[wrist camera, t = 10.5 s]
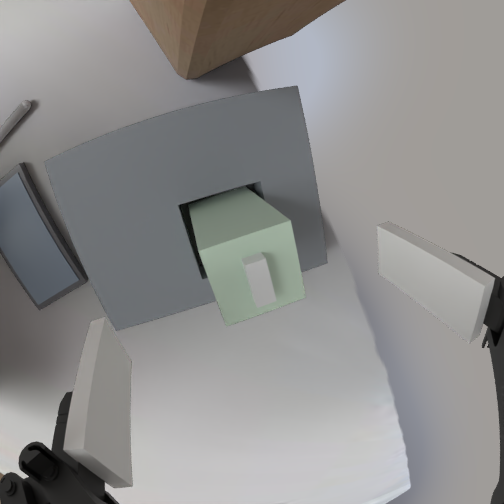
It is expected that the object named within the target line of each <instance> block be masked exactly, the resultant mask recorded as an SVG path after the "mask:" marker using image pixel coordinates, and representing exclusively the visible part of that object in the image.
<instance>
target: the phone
mask: <svg viewBox="0 0 504 504" xmlns="http://www.w3.org/2000/svg"><path fill="white" fill-rule="evenodd" d="M0 253H1V255H2V256H3V258H4V260H5V261H6V263H7V264H8V266H9V268H10V269H11V271H12V272H13V274H14V275H15V277H16V278H17V280H18V281H19V283H20V284H21V286H22V287H23V289H24V290H25V292H26V293H27V294H28V296H29V297H30V299H31V300H32V301H33V303H34V304H35V306H36V307H37V308H38V310H41V309H43V308H44V307H46V306H48V305H49V304H51V303H52V302H54V301H56V300H57V299H59V298H61V297H62V296H64V295H66V294H67V293H69V292H71V291H72V290H74V289H76V288H78V287H79V286H81V285H83V284H84V283H86V282H87V280H88V276H87V275H86V273H85V272H84V270H83V269H82V267H81V266H80V264H79V263H78V261H77V260H76V258H75V256H74V255H73V253H72V252H71V250H70V249H69V247H68V245H67V244H66V242H65V240H64V239H63V237H62V235H61V234H60V232H59V230H58V229H57V227H56V225H55V223H54V222H53V220H52V218H51V216H50V214H49V213H48V211H47V209H46V207H45V205H44V203H43V201H42V200H41V198H40V196H39V194H38V192H37V190H36V188H35V186H34V184H33V182H32V180H31V178H30V176H29V174H28V171H27V169H26V167H25V165H24V163H20V164H18V165H17V166H16V167H15V168H13V169H12V170H11V171H10V172H9V173H8V174H7V175H5V176H4V177H3V178H2V179H1V180H0Z"/></svg>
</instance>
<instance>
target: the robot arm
mask: <svg viewBox="0 0 504 504" xmlns="http://www.w3.org/2000/svg"><path fill="white" fill-rule="evenodd" d="M377 237H378V274H379V275H381V276H382V277H383V278H385V279H386V280H387V281H389V282H390V283H392V284H393V285H394V286H396V287H397V288H398V289H400V290H401V291H402V292H404V293H405V294H406V295H408V296H409V297H410V298H412V299H413V300H414V301H416V302H417V303H418V304H419V305H421V306H422V307H423V308H425V309H426V310H427V311H429V312H430V313H431V314H432V315H434V316H435V317H436V318H437V319H439V320H440V321H441V322H442V323H444V324H445V325H446V326H448V327H449V328H450V329H451V330H453V331H454V332H455V333H456V334H457V335H459V336H460V337H461V338H462V339H463V340H465V341H466V342H467V343H471V342H472V341H473V340H474V339H476V338H477V337H478V336H479V335H480V333H481V329H482V326H483V323H484V324H485V325H486V326H488V328H487V331H486V334H485V337H484V340H483V343H482V348H484V346H485V344H486V341H488V343H489V344H488V346H487V347H488V348H490V353H491V358H492V364H493V370H494V377H495V384H496V392H497V400H498V411H499V424H500V477H499V482H498V484H497V487H496V489H495V490H494V492H493V495H492V499H491V504H504V277H502V278H500V277H498V276H497V275H495V274H493V273H491V272H490V271H488V270H486V269H484V268H483V267H481V266H479V265H476V263H474V262H472V261H469V260H468V259H466V258H465V257H463V256H461V255H458V254H454V253H450V252H448V251H446V250H444V249H442V248H441V247H439V246H437V245H435V244H433V243H431V242H429V241H427V240H425V239H423V238H421V237H419V236H417V235H415V234H413V233H411V232H409V231H407V230H405V229H403V228H401V227H399V226H397V225H395V224H393V223H390V222H389V221H388V222H385V223H383V224H380V225H377ZM131 369H132V361H131V360H130V358H129V356H128V355H127V353H126V352H125V350H124V348H123V347H122V345H121V343H120V342H119V340H118V338H117V337H116V335H115V333H114V332H113V330H112V328H111V326H110V325H109V323H108V321H107V319H106V317H103V318H100V319H97V320H93V321H91V322H90V326H89V329H88V332H87V336H86V340H85V343H84V347H83V351H82V355H81V359H80V363H79V367H78V371H77V375H76V380H75V384H74V389H73V392H68V393H66V394H65V396H64V398H63V399H62V401H61V403H60V406H59V411H58V416H57V421H56V424H57V425H56V426H55V432H54V438H53V444H52V450H50V449H48V448H47V447H46V446H45V445H44V444H43V443H40V442H32V443H30V444H28V445H27V446H26V447H25V448H24V449H23V450H22V452H21V454H20V456H19V467H20V470H21V471H22V472H24V473H25V474H27V475H28V476H29V477H28V478H25V479H23V478H21V477H20V476H18V475H17V474H16V473H12V472H10V473H7V474H5V475H4V476H3V478H2V479H1V481H0V500H1V504H119V503H118V502H117V501H116V500H115V499H114V498H113V497H112V496H111V495H110V494H109V493H108V492H106V491H105V482H106V483H107V484H109V485H110V486H112V487H113V488H122V487H132V486H133V480H132V464H131V436H130V398H131Z"/></svg>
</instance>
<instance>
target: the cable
mask: <svg viewBox="0 0 504 504" xmlns="http://www.w3.org/2000/svg"><path fill="white" fill-rule="evenodd" d="M30 107H31V103H30V101H28V100H25V101H23V102H22V103H21V104H20V106H19V107H18V108H17V109H16V110H15V111H14V112H13V113H12V115H11V116H10V117H9V118H8V119H7V120H6V121H5V123H4V124H3V125H2V126H1V128H0V143H1V141H2V140H3V139H4V138H5V136H6V135H7V134H8V133H9V132H10V130H11V129H12V128H13V127H14V126H15V125H16V123H17V122H18V121H19V120H20V119H21V118H22V117H23V116H24V115H25V114H26V112H27V111H28V110H29V109H30Z"/></svg>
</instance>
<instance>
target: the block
mask: <svg viewBox="0 0 504 504" xmlns="http://www.w3.org/2000/svg"><path fill="white" fill-rule="evenodd" d="M344 1H345V0H130V2H131V3H132V5H133V6H134V8H135V9H136V11H137V12H138V14H139V15H140V17H141V18H142V20H143V21H144V23H145V24H146V26H147V27H148V29H149V30H150V32H151V34H152V35H153V37H154V38H155V40H156V41H157V43H158V44H159V46H160V47H161V49H162V51H163V52H164V54H165V55H166V57H167V58H168V60H169V61H170V63H171V65H172V66H173V68H174V69H175V71H176V72H177V74H178V75H180V76H181V77H183V78H184V79H186V80H187V79H194V78H198V77H200V76H202V75H204V74H206V73H208V72H210V71H211V70H213V69H215V68H217V67H219V66H221V65H223V64H226V63H228V62H230V61H232V60H234V59H236V58H238V57H240V56H243V55H245V54H247V53H249V52H252V51H254V50H256V49H259V48H261V47H263V46H266V45H268V44H271V43H273V42H276V41H278V40H281V39H284V38H286V37H289V36H292V35H293V34H295V33H296V32H298V31H299V30H300V29H302V28H303V27H305V26H306V25H308V24H309V23H310V22H312V21H314V20H315V19H317V18H318V17H320V16H321V15H323V14H324V13H326V12H327V11H329V10H331V9H332V8H334V7H335V6H337V5H339V4H340V3H342V2H344Z"/></svg>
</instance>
